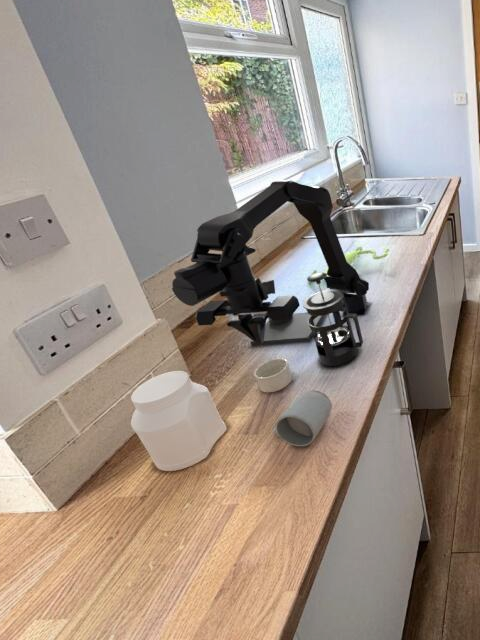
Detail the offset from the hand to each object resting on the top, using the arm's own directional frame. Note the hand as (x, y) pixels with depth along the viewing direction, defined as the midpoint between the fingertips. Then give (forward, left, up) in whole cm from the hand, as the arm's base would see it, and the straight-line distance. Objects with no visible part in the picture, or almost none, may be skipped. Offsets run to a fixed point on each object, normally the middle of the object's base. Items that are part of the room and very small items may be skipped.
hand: (260, 342), depth 89 cm
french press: (-13, -8, -12) cm, 19 cm away
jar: (+9, +16, -12) cm, 22 cm away
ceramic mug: (-12, +15, -12) cm, 23 cm away
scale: (+6, -22, -11) cm, 25 cm away
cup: (0, 0, -11) cm, 11 cm away
